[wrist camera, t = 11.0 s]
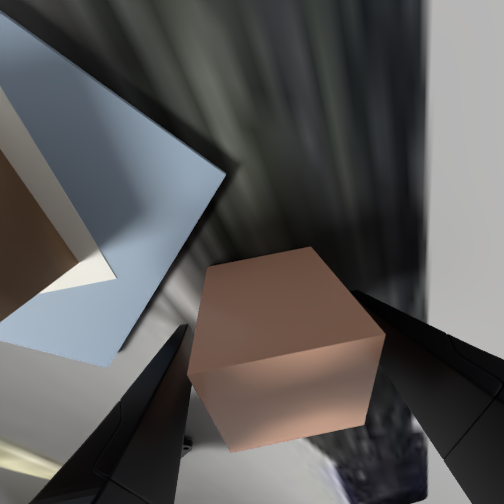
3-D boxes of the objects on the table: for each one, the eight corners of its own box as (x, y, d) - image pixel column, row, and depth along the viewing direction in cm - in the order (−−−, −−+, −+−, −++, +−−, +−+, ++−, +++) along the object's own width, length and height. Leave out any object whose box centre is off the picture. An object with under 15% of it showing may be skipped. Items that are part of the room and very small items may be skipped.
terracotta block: (312, 320, 12) (364, 424, 7) (230, 337, 12) (230, 453, 7) (310, 246, 9) (385, 334, 5) (207, 266, 9) (186, 374, 5)
